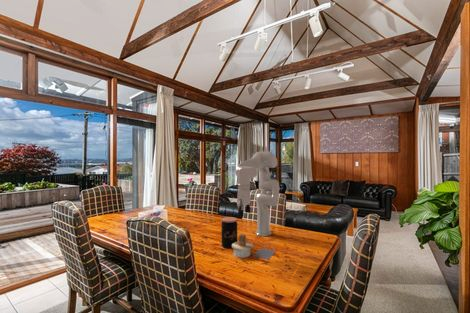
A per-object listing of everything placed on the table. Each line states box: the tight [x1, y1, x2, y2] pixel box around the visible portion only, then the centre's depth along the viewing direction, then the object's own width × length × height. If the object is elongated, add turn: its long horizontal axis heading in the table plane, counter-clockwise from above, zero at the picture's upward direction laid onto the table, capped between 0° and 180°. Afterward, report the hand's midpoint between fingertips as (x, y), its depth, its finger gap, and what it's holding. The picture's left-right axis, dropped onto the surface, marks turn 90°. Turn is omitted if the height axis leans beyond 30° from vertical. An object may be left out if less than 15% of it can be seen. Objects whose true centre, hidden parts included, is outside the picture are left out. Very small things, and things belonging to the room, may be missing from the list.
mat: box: [252, 247, 277, 260], centre depth 139 cm, size 14×10×1 cm
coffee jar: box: [221, 216, 238, 249], centre depth 153 cm, size 11×11×18 cm
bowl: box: [233, 249, 251, 258], centre depth 138 cm, size 10×10×5 cm
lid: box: [231, 233, 254, 251], centre depth 138 cm, size 13×13×7 cm
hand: (244, 214), depth 142 cm, fingers open, 9 cm apart
